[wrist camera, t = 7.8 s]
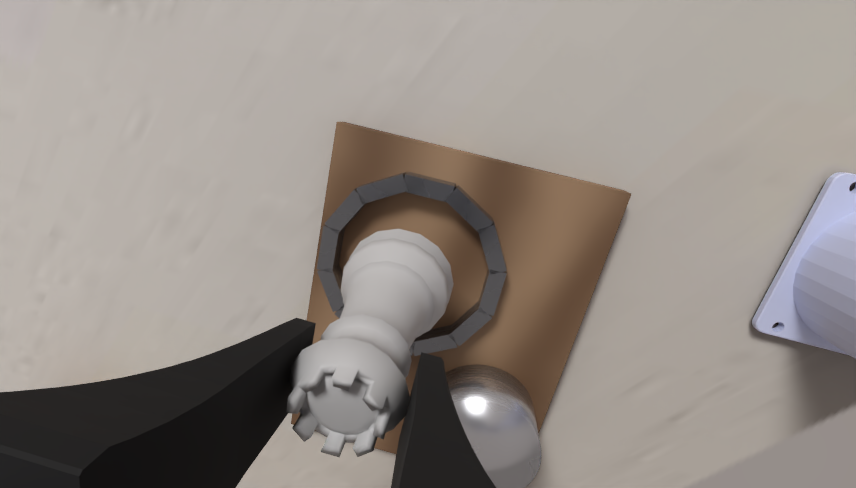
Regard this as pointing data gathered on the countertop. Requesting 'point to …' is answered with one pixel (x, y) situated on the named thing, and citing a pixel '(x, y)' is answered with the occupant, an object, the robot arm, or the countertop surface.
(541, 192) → the carrier board
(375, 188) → the socket ring
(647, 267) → the countertop surface
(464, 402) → the silver metal dome
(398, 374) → the rook chess piece
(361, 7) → the countertop surface
